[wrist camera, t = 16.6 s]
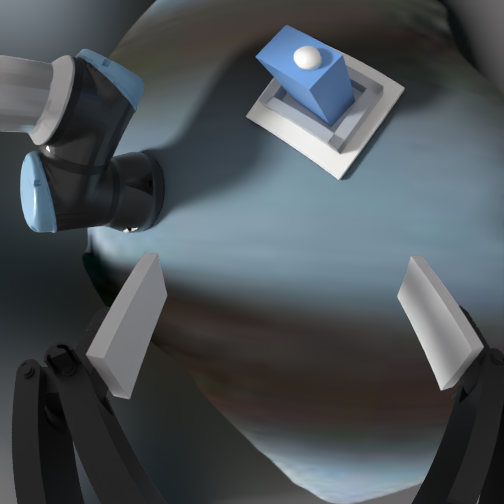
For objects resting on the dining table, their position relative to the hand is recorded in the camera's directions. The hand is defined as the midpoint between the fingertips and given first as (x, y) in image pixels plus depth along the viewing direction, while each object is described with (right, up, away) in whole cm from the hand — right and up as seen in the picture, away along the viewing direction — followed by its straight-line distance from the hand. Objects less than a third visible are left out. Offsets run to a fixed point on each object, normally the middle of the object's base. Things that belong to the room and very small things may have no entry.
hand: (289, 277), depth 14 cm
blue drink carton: (+7, +21, +18) cm, 29 cm away
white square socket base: (+8, +21, +19) cm, 29 cm away
